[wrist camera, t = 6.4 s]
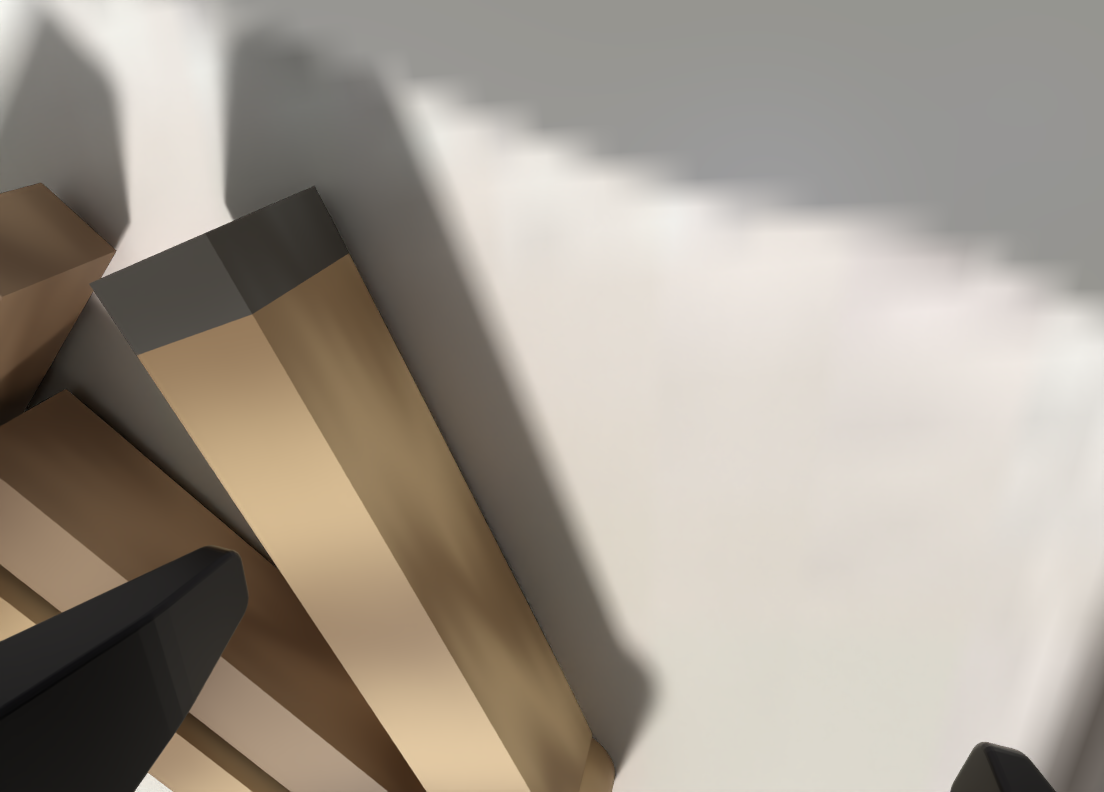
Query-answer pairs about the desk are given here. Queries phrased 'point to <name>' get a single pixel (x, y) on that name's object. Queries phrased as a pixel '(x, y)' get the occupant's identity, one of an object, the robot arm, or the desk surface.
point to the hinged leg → (356, 496)
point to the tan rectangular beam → (154, 547)
